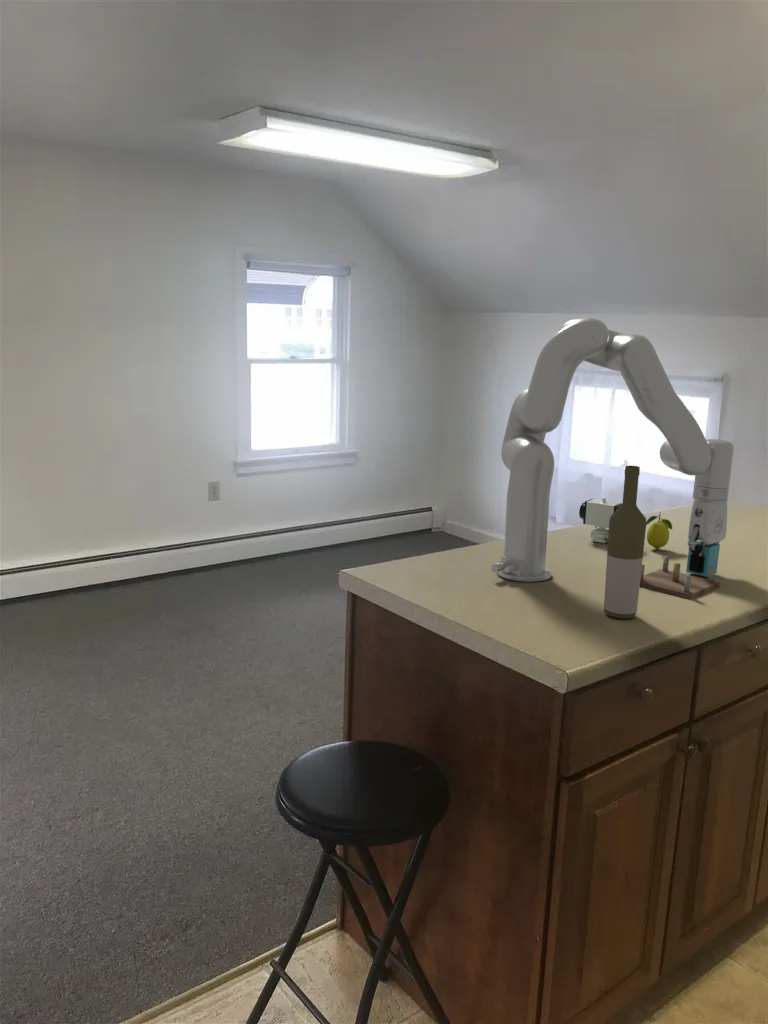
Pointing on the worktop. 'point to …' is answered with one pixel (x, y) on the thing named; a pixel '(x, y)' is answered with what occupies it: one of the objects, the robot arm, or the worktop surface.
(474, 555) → the worktop surface
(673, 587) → the pegboard
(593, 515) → the pneumatic valve
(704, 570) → the hollow square block
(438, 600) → the worktop surface
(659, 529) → the lemon
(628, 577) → the bottle
